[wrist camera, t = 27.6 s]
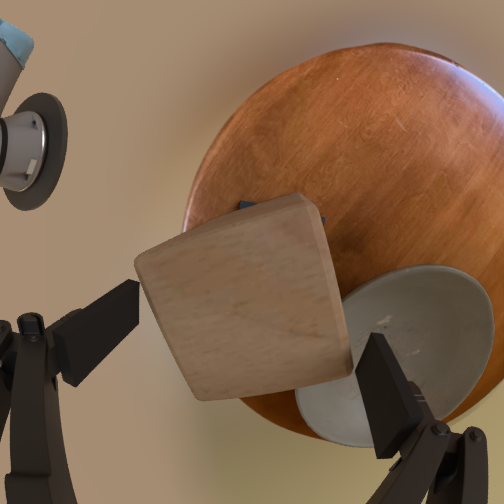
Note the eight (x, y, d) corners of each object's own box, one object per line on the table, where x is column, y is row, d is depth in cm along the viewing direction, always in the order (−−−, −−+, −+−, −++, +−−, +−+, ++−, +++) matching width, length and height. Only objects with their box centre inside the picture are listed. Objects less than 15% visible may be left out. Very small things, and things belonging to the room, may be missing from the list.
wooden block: (218, 216, 33) (127, 259, 14) (300, 190, 31) (316, 199, 12) (244, 293, 35) (195, 404, 16) (323, 272, 33) (356, 378, 14)
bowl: (305, 424, 40) (305, 461, 32) (280, 267, 34) (277, 292, 26) (453, 390, 35) (470, 419, 27) (472, 233, 30) (507, 246, 22)
